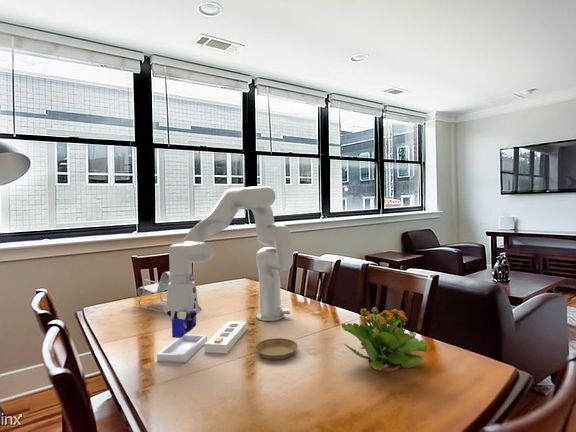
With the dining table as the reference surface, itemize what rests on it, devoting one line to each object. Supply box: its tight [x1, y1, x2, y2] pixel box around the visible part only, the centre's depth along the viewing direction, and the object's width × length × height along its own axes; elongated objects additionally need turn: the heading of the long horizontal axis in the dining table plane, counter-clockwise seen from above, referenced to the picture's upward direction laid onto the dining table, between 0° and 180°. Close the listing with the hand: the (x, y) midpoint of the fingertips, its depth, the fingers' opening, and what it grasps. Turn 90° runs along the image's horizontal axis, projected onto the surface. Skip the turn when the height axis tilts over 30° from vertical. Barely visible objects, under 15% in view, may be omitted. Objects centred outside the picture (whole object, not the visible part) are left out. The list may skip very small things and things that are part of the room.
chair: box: [137, 270, 170, 314], centre depth 183 cm, size 13×25×20 cm, turn 57°
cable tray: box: [156, 333, 208, 364], centre depth 127 cm, size 10×18×2 cm, turn 169°
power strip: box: [204, 320, 248, 354], centre depth 137 cm, size 8×24×4 cm, turn 169°
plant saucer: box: [254, 337, 298, 361], centre depth 124 cm, size 15×15×3 cm
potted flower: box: [341, 306, 428, 373], centre depth 112 cm, size 25×24×18 cm
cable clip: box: [171, 309, 197, 339], centre depth 127 cm, size 12×4×6 cm, turn 169°
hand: (182, 329), depth 127 cm, fingers closed on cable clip, 4 cm apart
